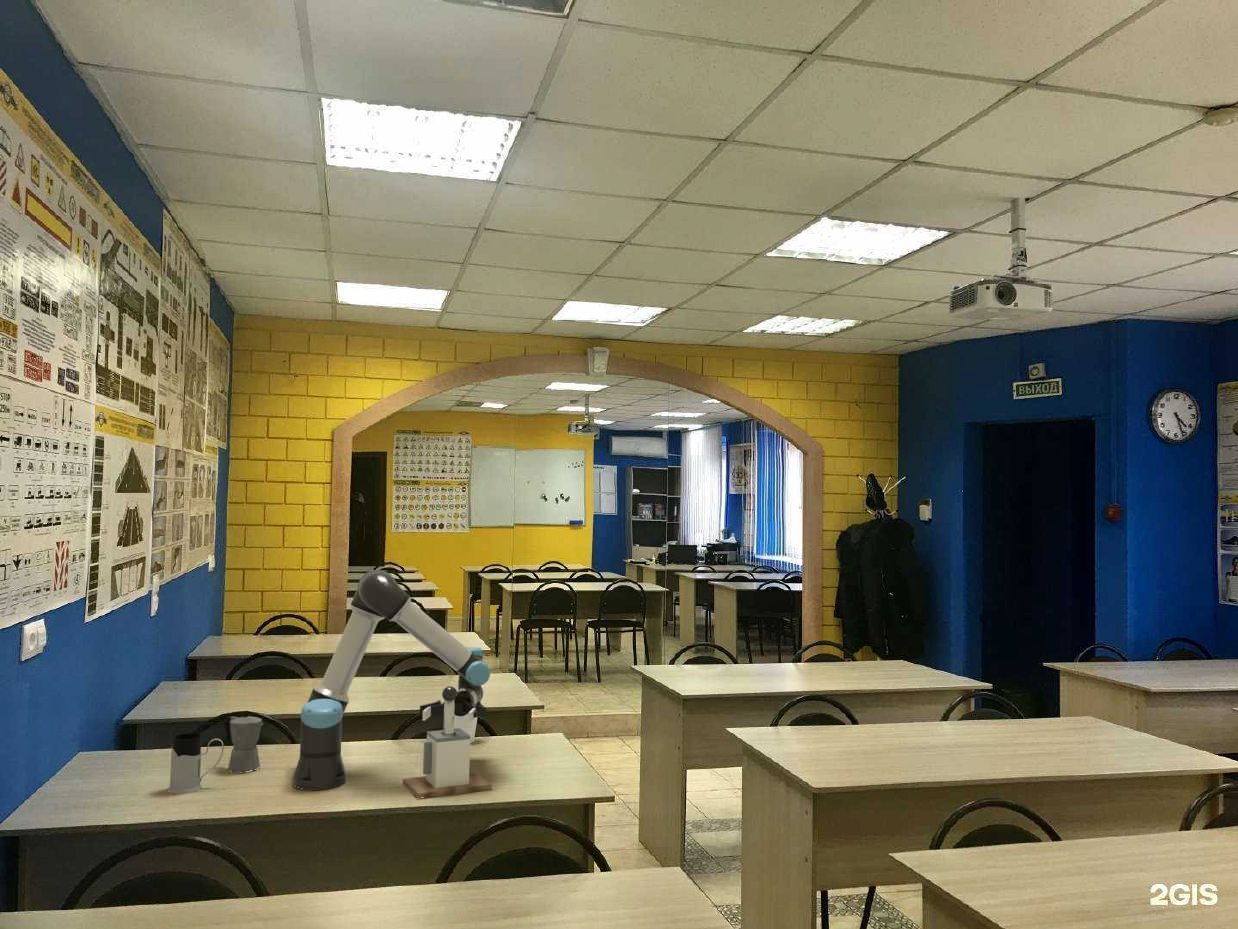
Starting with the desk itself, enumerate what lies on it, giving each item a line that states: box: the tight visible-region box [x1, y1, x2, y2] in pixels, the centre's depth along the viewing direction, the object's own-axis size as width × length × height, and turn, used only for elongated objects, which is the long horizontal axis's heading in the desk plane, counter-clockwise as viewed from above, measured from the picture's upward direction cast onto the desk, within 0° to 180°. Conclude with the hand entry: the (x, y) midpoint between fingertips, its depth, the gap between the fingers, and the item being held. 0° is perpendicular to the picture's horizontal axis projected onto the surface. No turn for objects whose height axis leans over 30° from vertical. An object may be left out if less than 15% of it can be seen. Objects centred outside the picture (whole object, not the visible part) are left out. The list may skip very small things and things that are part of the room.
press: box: [422, 728, 471, 788], centre depth 271 cm, size 12×10×14 cm
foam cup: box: [454, 714, 478, 744], centre depth 325 cm, size 10×9×13 cm
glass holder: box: [167, 732, 225, 795], centre depth 266 cm, size 9×14×15 cm, turn 111°
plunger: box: [441, 686, 458, 736], centre depth 272 cm, size 7×7×26 cm
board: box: [402, 770, 493, 799], centre depth 272 cm, size 22×16×2 cm
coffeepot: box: [223, 710, 264, 773], centre depth 286 cm, size 15×9×18 cm, turn 67°
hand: (446, 716), depth 270 cm, fingers open, 13 cm apart
